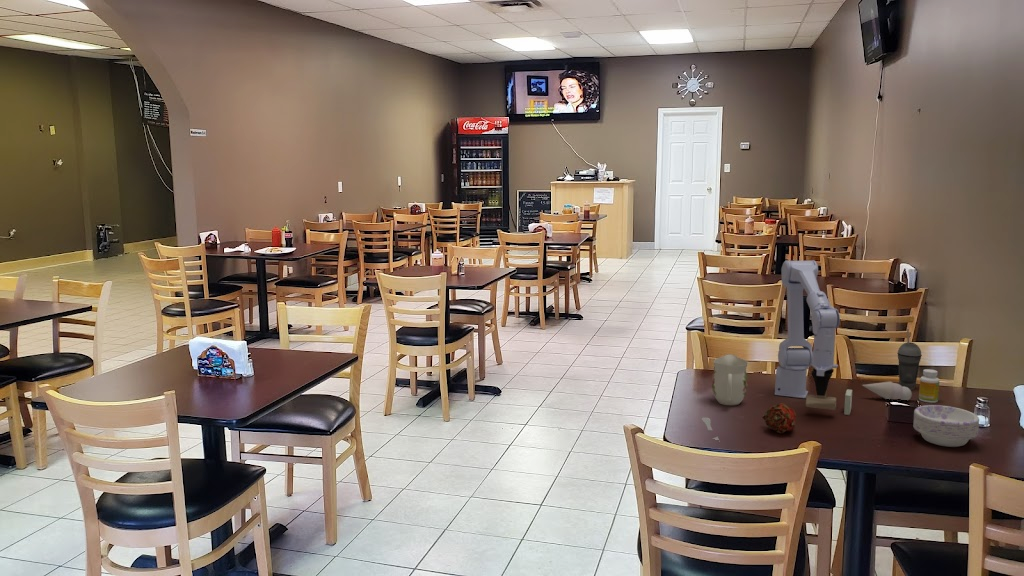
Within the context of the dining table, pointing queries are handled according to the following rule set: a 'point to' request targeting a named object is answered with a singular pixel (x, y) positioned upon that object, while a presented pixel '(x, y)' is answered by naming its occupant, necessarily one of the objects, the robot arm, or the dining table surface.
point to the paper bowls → (945, 425)
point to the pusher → (821, 402)
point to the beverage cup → (908, 363)
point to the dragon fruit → (780, 418)
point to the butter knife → (708, 425)
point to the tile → (848, 402)
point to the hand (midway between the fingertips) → (821, 393)
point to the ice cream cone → (890, 390)
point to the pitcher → (729, 379)
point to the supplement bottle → (929, 386)
